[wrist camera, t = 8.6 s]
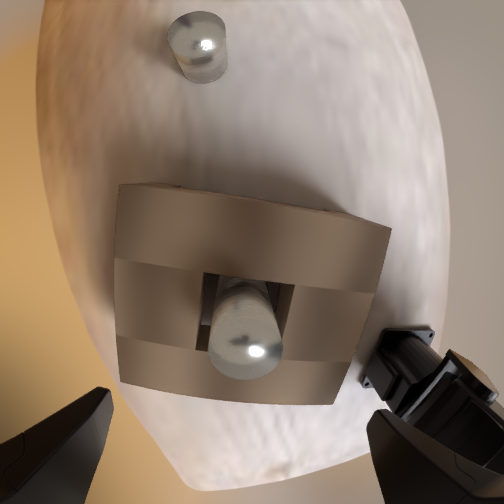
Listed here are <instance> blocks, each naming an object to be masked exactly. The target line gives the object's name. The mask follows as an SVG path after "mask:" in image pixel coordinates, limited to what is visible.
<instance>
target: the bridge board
mask: <svg viewBox="0 0 504 504" xmlns="http://www.w3.org/2000/svg"><path fill="white" fill-rule="evenodd" d="M391 230H392V229H391V228H389V227H386V226H383V225H380V224H377V223H374V222H371V221H369V220H366V219H363V218H360V217H357V216H354V215H351V214H346V213H342V212H337V211H332V210H327V209H325V210H324V211H321V210H316V209H311V208H305V207H300V206H294V205H289V204H283V203H278V202H272V201H266V200H260V199H254V198H247V197H241V196H234V195H228V194H221V193H214V192H207V191H199V190H192V189H184V188H181V186H178V185H169V184H160V183H137V184H121V185H119V193H118V203H117V215H116V229H115V250H114V309H115V329H116V343H117V355H118V365H119V373H120V381H121V382H123V383H127V384H131V385H135V386H140V387H144V388H149V389H153V390H158V391H163V392H169V393H174V394H180V395H186V396H193V397H199V398H207V399H215V400H223V401H233V402H244V403H258V404H278V405H332V404H333V403H334V401H335V399H336V396H337V394H338V392H339V390H340V387H341V385H342V383H343V380H344V378H345V376H346V373H347V371H348V368H349V366H350V363H351V361H352V358H353V356H354V353H355V351H356V348H357V345H358V343H359V340H360V337H361V334H362V331H363V329H364V326H365V323H366V320H367V317H368V314H369V311H370V308H371V305H372V301H373V298H374V295H375V292H376V288H377V285H378V281H379V278H380V274H381V270H382V267H383V263H384V259H385V255H386V251H387V247H388V243H389V239H390V234H391ZM206 273H213V274H220V275H227V276H234V277H241V278H248V279H256V280H263V281H271V282H278V283H282V285H281V290H280V294H279V299H278V304H277V308H276V313H275V319H276V322H277V326H278V329H279V332H280V336H281V339H282V343H283V354H282V357H281V360H280V362H279V363H278V365H277V366H276V367H275V368H274V369H273V370H272V371H271V372H269V373H267V374H266V375H264V376H261V377H259V378H255V379H248V380H241V379H235V378H231V377H228V376H226V375H224V374H222V373H221V372H219V371H218V370H217V369H216V368H215V367H214V366H213V364H212V363H211V361H210V358H209V355H208V344H209V337H210V330H211V326H208V325H201V316H202V307H203V298H204V289H205V281H206Z"/></svg>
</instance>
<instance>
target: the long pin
mask: <svg viewBox="0 0 504 504" xmlns="http://www.w3.org/2000/svg"><path fill="white" fill-rule="evenodd" d="M282 354H283V343H282V339H281V336H280V332H279V329H278V326H277V322H276V319H275V315H274V312H273V308H272V305H271V301H270V298H269V294H268V291H267V287H266V284H265V281H263V280H256V279H248V278H241V277H234V276H227V275H220V274H219V279H218V285H217V291H216V298H215V304H214V310H213V317H212V324H211V330H210V337H209V344H208V355H209V358H210V361H211V363H212V364H213V366H214V367H215V368H216V369H217V370H218V371H219V372H221V373H222V374H224V375H226V376H228V377H231V378H235V379H241V380H248V379H255V378H259V377H261V376H264V375H266V374H267V373H269V372H271V371H272V370H273V369H274V368H275V367H276V366H277V365H278V363H279V362H280V360H281V357H282Z"/></svg>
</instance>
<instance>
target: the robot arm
mask: <svg viewBox="0 0 504 504" xmlns="http://www.w3.org/2000/svg"><path fill="white" fill-rule="evenodd" d="M387 333H388V334H387ZM386 334H387V335H386ZM434 335H435V332H434V331H433V330H432V329H395V328H387V329H384V330H383V331H382V333H381V336H380V338H379V341H378V343H377V346H376V348H375V351H374V353H373V355H372V358H371V360H370V363H369V365H368V367H367V370H366V372H365V375H364V377H363V379H362V381H361V385H362V387H363V388H374V389H375V390H376V392H377V393H378V395H379V397H380V398H381V400H382V401H385V402H386V403H387V405H388V406H389V408H390V410H391V411H392V412H390V411H389V410H387V409H380V410H376V411H375V412H374V414H373V415H372V417H371V419H370V421H369V422H368V424H367V428H366V430H367V436H368V441H369V446H370V451H371V456H372V461H373V465H374V468H375V471H376V475H377V478H378V481H379V485H380V488H381V491H382V495H383V498H384V501H385V504H504V408H503V407H502V406H501V405H500V404H499V403H498V402H497V401H496V400H495V399H496V397H498V395H499V393H498V391H497V390H496V389H495V387H494V385H493V384H492V382H491V381H490V380H489V378H488V377H487V375H486V374H484V372H483V371H481V370H480V369H479V368H478V367H477V366H476V365H474V364H473V363H472V362H471V361H469V360H468V359H466V358H464V357H462V356H461V355H459V354H457V353H456V352H454V351H452V350H451V349H449V350H448V351H447V353H446V356H445V357H444V359H442V358H441V357H440V356H439V355H438V354H437V353H436V352H435V351H434V350H433V349H432V348H431V347H430V344H431V342H432V340H433V337H434ZM365 383H366V384H365ZM113 408H114V406H113V401H112V396H111V391H110V390H109V389H107V388H103V387H96V388H95V389H93V390H91V391H90V392H88V393H87V394H85V395H83V396H82V397H80V398H78V399H77V400H75V401H74V402H72V403H70V404H69V405H67V406H65V407H64V408H62V409H61V410H59V411H57V412H56V413H54V414H52V415H51V416H49V417H47V418H46V419H44V420H42V421H41V422H39V423H37V424H35V425H34V426H32V427H31V428H29V429H27V430H25V431H24V433H23V432H22V433H20V434H18V435H16V436H15V437H13V438H11V439H9V440H7V441H5V442H3V443H1V444H0V504H84V503H85V500H86V497H87V494H88V491H89V488H90V485H91V482H92V480H93V477H94V474H95V471H96V468H97V465H98V463H99V460H100V458H101V455H102V453H103V450H104V446H105V442H106V438H107V434H108V430H109V426H110V422H111V419H112V415H113V410H114V409H113Z"/></svg>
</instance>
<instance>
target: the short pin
mask: <svg viewBox="0 0 504 504" xmlns="http://www.w3.org/2000/svg"><path fill="white" fill-rule="evenodd" d="M167 41H168V43H169V45H170V47H171V49H172V51H173V53H174V55H175V57H176V59H177V61H178V63H179V65H180V67H181V69H182V71H183V73H184V75H185V77H186V78H187V79H189V80H190V81H192V82H195V83H200V84H205V83H210V82H213V81H215V80H217V79H218V78H220V77H221V76H222V75H223V74H224V72H225V70H226V68H227V49H226V31H225V25H224V22H223V21H222V19H221V18H220V17H218V16H217V15H215V14H213V13H210V12H205V11H196V12H191V13H188V14H185V15H183V16H181V17H179V18H178V19H177V20H175V21H174V22H173V23H172V25H171V26H170V28H169V30H168V33H167Z"/></svg>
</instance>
